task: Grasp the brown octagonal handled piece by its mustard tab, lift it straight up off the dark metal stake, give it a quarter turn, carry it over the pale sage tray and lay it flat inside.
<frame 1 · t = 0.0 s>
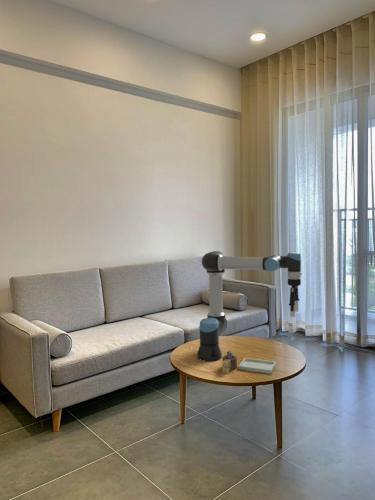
hand: (294, 313, 227), 28 cm above the table, fingers open, 13 cm apart
stake: (229, 367, 218), on the table
brown octagonal handled piece: (229, 367, 218), on the table
tray: (257, 367, 218), on the table
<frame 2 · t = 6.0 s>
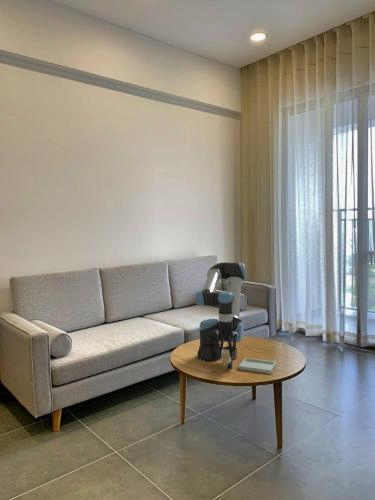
hand: (226, 361, 212), 6 cm above the table, fingers closed on brown octagonal handled piece, 3 cm apart
brown octagonal handled piece: (229, 358, 218), point 5 cm above the table, touching gripper
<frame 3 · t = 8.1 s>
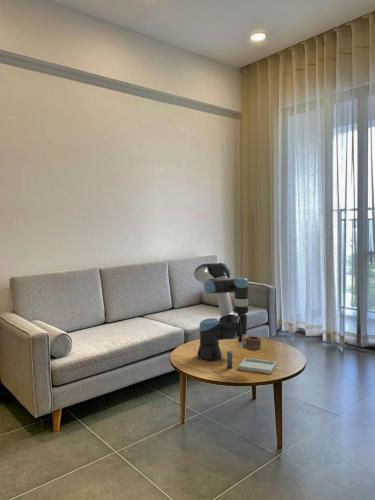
hand: (241, 346, 216), 13 cm above the table, fingers closed on brown octagonal handled piece, 3 cm apart
brown octagonal handled piece: (253, 348, 213), point 12 cm above the table, touching gripper
when the fingers open (2 cm above the table, at t = 10.7 s): brown octagonal handled piece stays where it is, resting on tray.
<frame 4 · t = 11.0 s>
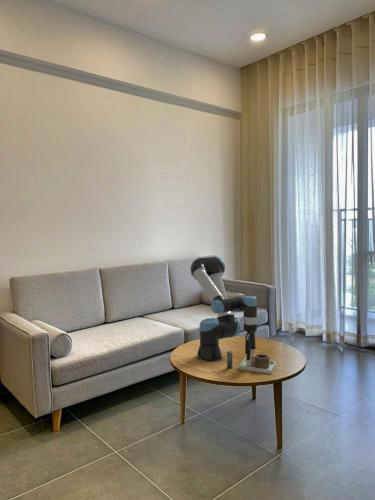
hand: (250, 362, 220), 2 cm above the table, fingers open, 7 cm apart
brown octagonal handled piece: (262, 366, 217), point 1 cm above the table, touching tray
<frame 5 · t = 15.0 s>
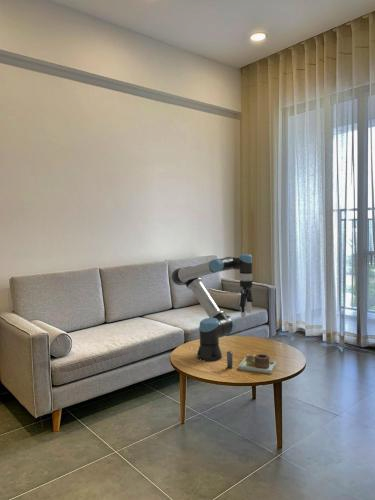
hand: (246, 314, 231), 27 cm above the table, fingers open, 13 cm apart
nothing on the table moved.
at the end: brown octagonal handled piece inside the target area on the tray (2.0 cm from its centre), point 0.6 cm above the tray's base; brown octagonal handled piece tilted 0°; the gripper is holding nothing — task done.
